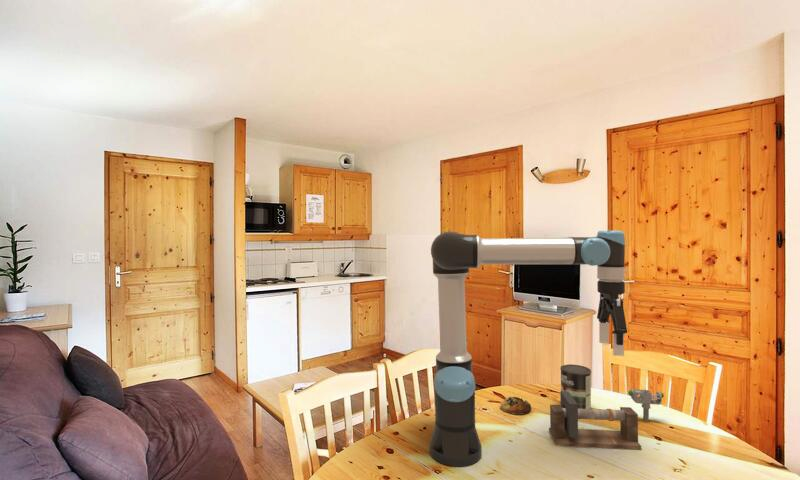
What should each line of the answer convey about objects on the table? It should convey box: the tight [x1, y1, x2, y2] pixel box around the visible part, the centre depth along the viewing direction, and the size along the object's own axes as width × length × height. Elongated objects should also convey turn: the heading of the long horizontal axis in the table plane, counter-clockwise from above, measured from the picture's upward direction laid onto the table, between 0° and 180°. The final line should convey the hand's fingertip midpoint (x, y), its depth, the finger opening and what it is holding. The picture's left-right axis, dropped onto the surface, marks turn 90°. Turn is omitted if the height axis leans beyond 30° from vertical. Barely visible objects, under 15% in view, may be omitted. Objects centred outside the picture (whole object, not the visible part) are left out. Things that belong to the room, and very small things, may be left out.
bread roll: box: [500, 396, 532, 415], centre depth 149 cm, size 11×11×5 cm
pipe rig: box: [548, 404, 642, 451], centre depth 126 cm, size 24×9×10 cm, turn 83°
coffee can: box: [560, 364, 592, 409], centre depth 149 cm, size 10×10×14 cm
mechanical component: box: [628, 388, 665, 423], centre depth 138 cm, size 3×10×10 cm, turn 79°
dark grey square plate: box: [559, 390, 579, 438], centre depth 127 cm, size 2×10×10 cm, turn 173°
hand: (610, 348), depth 127 cm, fingers open, 13 cm apart
